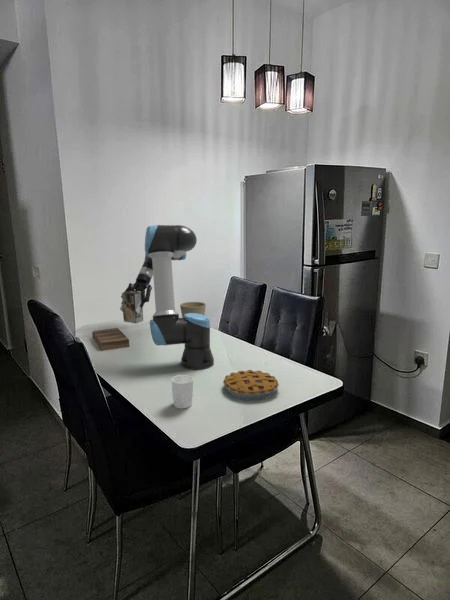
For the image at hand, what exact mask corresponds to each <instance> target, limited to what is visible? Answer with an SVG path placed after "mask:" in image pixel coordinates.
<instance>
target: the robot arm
mask: <svg viewBox="0 0 450 600" xmlns="http://www.w3.org/2000/svg"><path fill="white" fill-rule="evenodd" d="M144 237H145V238H144V253H145V256H144V261H143V264H142V266H141V268H140V270H139V272H138V274H137V276H136V279H135V282H134V283H132V282H130V283H129V284H128V286H127V288H126V289H125V290H124V292H126V291H135V292H142V297H141V298H142V299H141V300H142V301H141V300H140V301H139V304H138V306H137V308H136V310H135V311H136V312H137V313H139V312H140V310H141V308H142V307H144V305H145V303H149V302H150V298H151V293H152V292H151V291H152V289H153V288H154V304H155V305H154V306H155V311H154V314H153V315H152V319H150V320H149V329H150V334H151V337H152V341H153V343H154V345H156V346H171V345H172V346H173V345H182V344H183V345H184V349H183V351H182V355H181V359H180V365H181V366H182V367H184V369H185V368H186V369H189V370H190V369H191V370H204V369H208V368H211V367H213V365H214V364H215V360H214V355H213V353H212V349H211V323H210V322H211V321H210V318H209V317H208V316H207V315H205V314H204V315H202V314H197V313H188V314H185V315H184V318H183V317H180V314H179V312H178V311H176V306H175V305H176V304H175V292H174V279H173V278H174V277H173V276H174V275H173V263H172V262H173V261H185V260H186V259H187V252H190V251H192V250H193V249H194V248H195V247H196V244H197V241H198V240H197V236H196V233H195V232H194V231H193V230H192V229H191V228H189V227H187V226H185V225H180V224H177V225H176V224H175V225H174V224H170V225H169V224H168V225H167V224H166V225H165V224H164V225H163V224H161V225H160V224H156V225H155V224H154V225H149V226H147V227H146V231H145V236H144ZM152 278H153V287H152V285H151V284H150V283H151V281H152ZM120 298H121V299H122V295H121V296H120ZM119 310H120V311H121V312H122V313H123V302H122V301H121V305H120V307H119Z"/></svg>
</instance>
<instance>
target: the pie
mask: <svg viewBox="0 0 450 600" xmlns="http://www.w3.org/2000/svg"><path fill="white" fill-rule="evenodd" d="M222 382H223V386H224V387H225V388H226V390H227V392H228V393H229V394H230V395H231V396H232V397H235V398H236V399H239V400H243V401H244V400H246V401H256V400H259V399H260V400H263V398H264V399H267V398H266V397H268V398H270V397H271V395H272V396H274V394H275V392H276V390H278V388H279V386H280V384H279V382H278V379H276V377H275V376H274V375H271V374H270V373H268V372H263V371H262V370H256V371H255V370H252V369H247V371H246V370H245V371H244V370H237V372H230V373H229V374H228V375H225V377H224V379H223V381H222ZM269 396H270V397H269Z"/></svg>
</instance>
